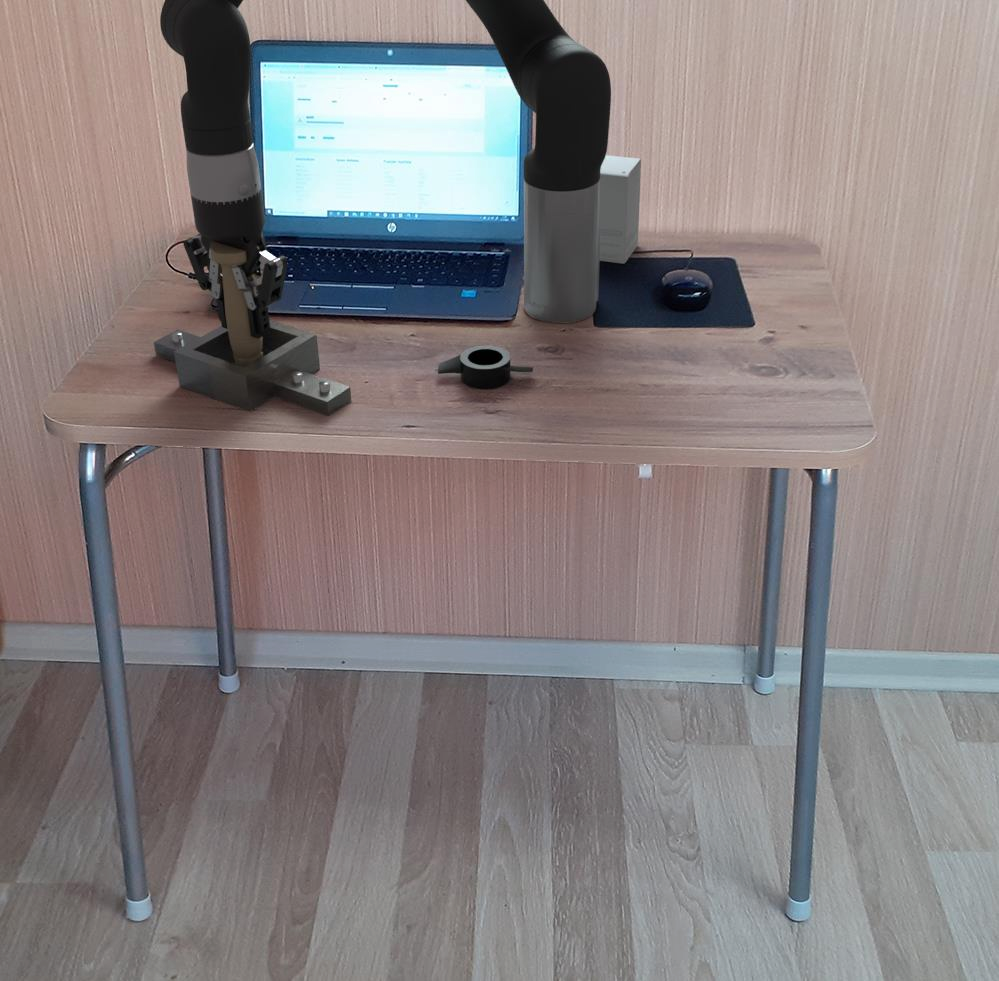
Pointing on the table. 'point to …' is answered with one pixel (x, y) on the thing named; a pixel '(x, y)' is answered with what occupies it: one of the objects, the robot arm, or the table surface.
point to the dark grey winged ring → (482, 367)
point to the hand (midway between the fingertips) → (245, 330)
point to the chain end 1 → (202, 355)
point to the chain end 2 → (280, 376)
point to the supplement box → (619, 207)
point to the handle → (236, 306)
